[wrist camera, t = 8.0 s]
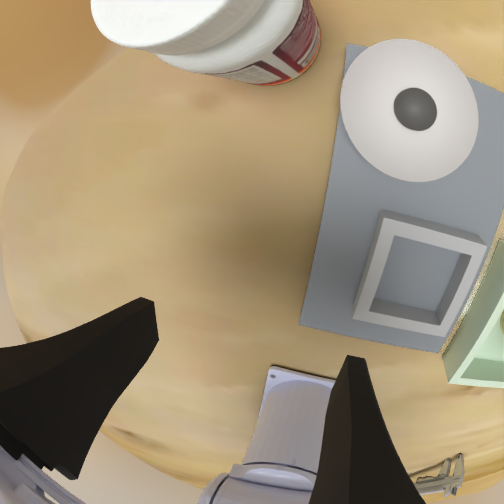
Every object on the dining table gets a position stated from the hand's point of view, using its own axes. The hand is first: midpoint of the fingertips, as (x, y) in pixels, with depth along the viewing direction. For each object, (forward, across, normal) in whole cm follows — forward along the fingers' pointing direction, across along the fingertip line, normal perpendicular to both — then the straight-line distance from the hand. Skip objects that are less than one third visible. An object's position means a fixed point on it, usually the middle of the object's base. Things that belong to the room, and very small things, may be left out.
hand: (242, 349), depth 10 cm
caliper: (+11, -22, +32) cm, 40 cm away
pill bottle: (+11, +3, -12) cm, 16 cm away
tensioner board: (+10, -7, -3) cm, 13 cm away
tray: (+10, -19, +2) cm, 22 cm away
